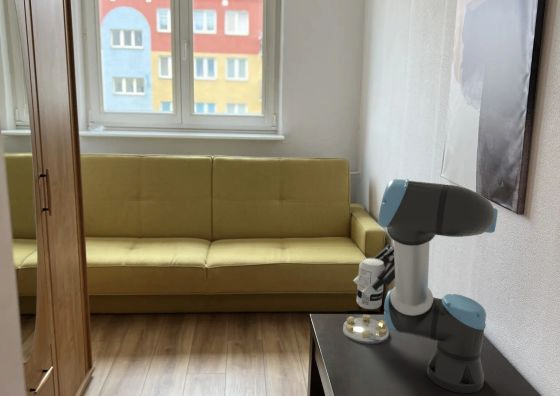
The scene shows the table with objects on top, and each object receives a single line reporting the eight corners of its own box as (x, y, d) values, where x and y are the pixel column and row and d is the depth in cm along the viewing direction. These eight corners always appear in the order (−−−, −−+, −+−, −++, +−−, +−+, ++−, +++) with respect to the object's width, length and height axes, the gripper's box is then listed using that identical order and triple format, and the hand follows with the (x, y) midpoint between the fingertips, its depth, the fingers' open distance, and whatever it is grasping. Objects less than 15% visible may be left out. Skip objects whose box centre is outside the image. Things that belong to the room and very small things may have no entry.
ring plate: (396, 332, 163) (397, 324, 162) (374, 349, 151) (375, 340, 151) (358, 317, 172) (358, 309, 171) (334, 332, 161) (334, 323, 160)
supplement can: (356, 298, 165) (359, 256, 161) (380, 300, 163) (384, 258, 160) (356, 308, 157) (359, 264, 153) (382, 311, 156) (386, 267, 152)
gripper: (433, 260, 148) (379, 310, 149) (404, 239, 169) (357, 283, 169) (419, 243, 146) (363, 294, 147) (392, 224, 166) (343, 269, 167)
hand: (360, 288), depth 158 cm, fingers closed on supplement can, 8 cm apart
